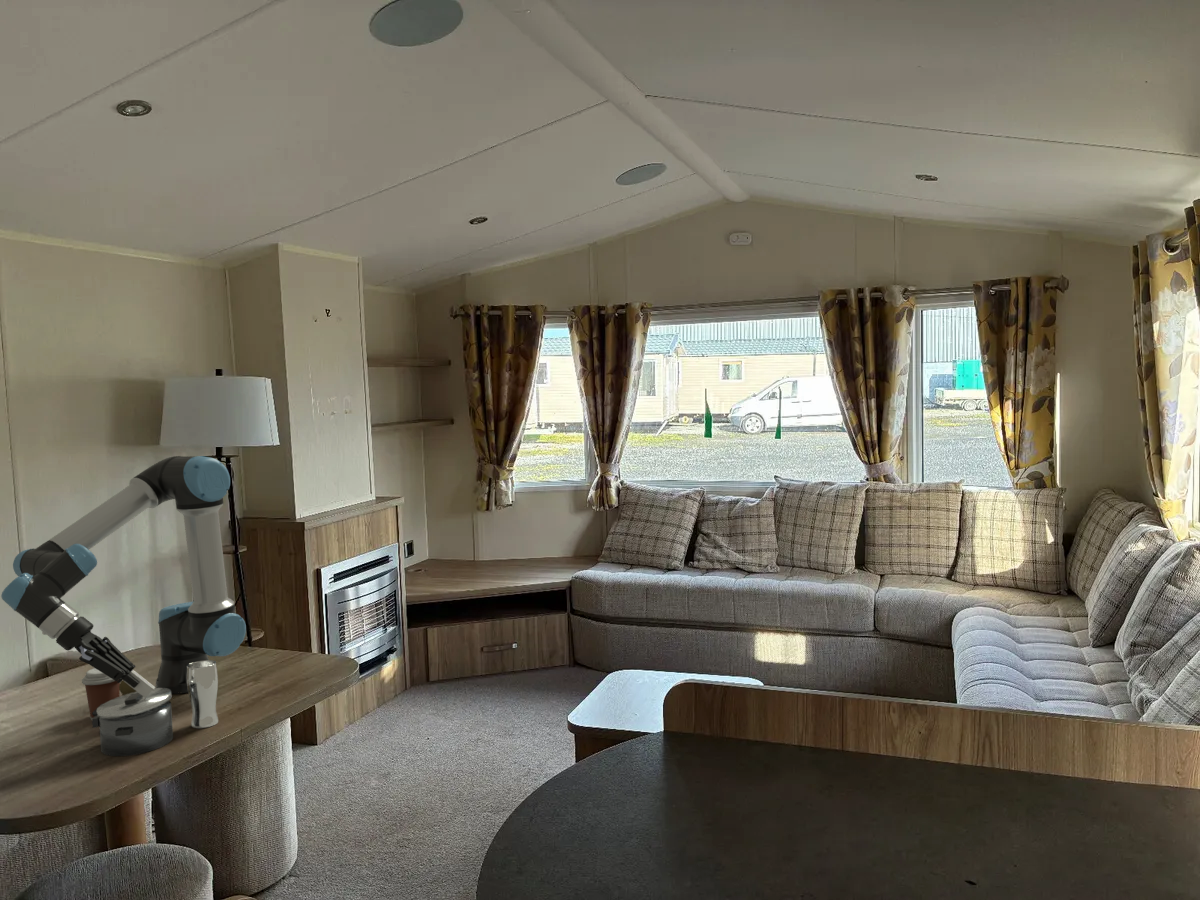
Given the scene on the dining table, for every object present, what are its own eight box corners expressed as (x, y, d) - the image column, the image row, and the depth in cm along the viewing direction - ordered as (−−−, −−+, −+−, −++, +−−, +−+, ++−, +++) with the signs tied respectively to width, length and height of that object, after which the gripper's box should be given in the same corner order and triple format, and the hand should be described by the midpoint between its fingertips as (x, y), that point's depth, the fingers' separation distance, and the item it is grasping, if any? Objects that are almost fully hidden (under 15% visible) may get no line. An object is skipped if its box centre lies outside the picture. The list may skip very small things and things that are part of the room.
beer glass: (197, 719, 225) (194, 660, 224) (225, 718, 225) (221, 659, 224) (184, 729, 218) (180, 668, 217) (212, 728, 218) (208, 668, 217)
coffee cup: (78, 717, 229) (75, 671, 228) (116, 707, 236) (113, 662, 235) (93, 725, 223) (89, 677, 222) (131, 714, 230) (128, 668, 229)
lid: (84, 725, 201) (82, 715, 200) (108, 701, 216) (106, 692, 216) (161, 709, 204) (159, 700, 203) (179, 687, 219) (177, 679, 219)
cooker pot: (82, 763, 199) (80, 728, 199) (112, 732, 218) (109, 699, 218) (160, 755, 202) (158, 720, 202) (182, 725, 221) (180, 693, 221)
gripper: (66, 632, 212) (147, 695, 216) (43, 647, 199) (129, 714, 204) (89, 608, 213) (169, 672, 217) (68, 622, 200) (153, 689, 204)
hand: (150, 692), depth 210 cm, fingers closed
